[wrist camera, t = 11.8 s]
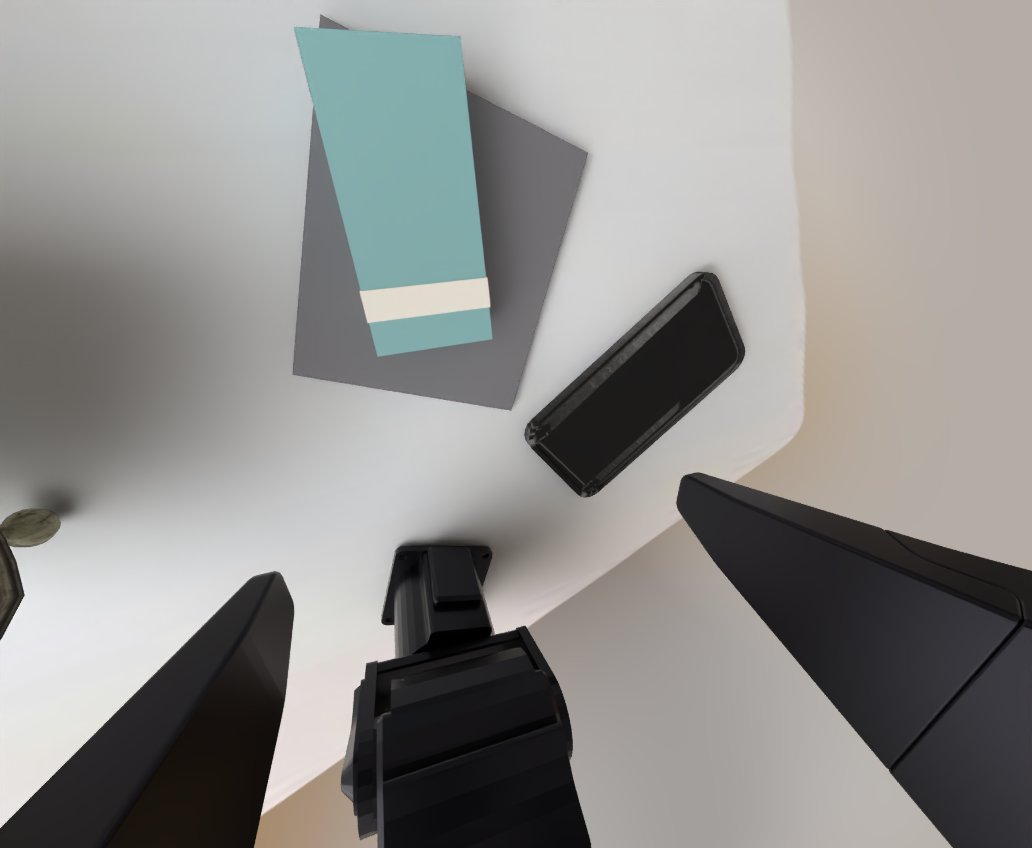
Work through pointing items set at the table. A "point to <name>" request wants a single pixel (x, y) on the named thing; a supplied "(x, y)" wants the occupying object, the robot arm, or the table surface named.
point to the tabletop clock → (3, 581)
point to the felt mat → (507, 256)
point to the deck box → (403, 181)
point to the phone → (639, 386)
